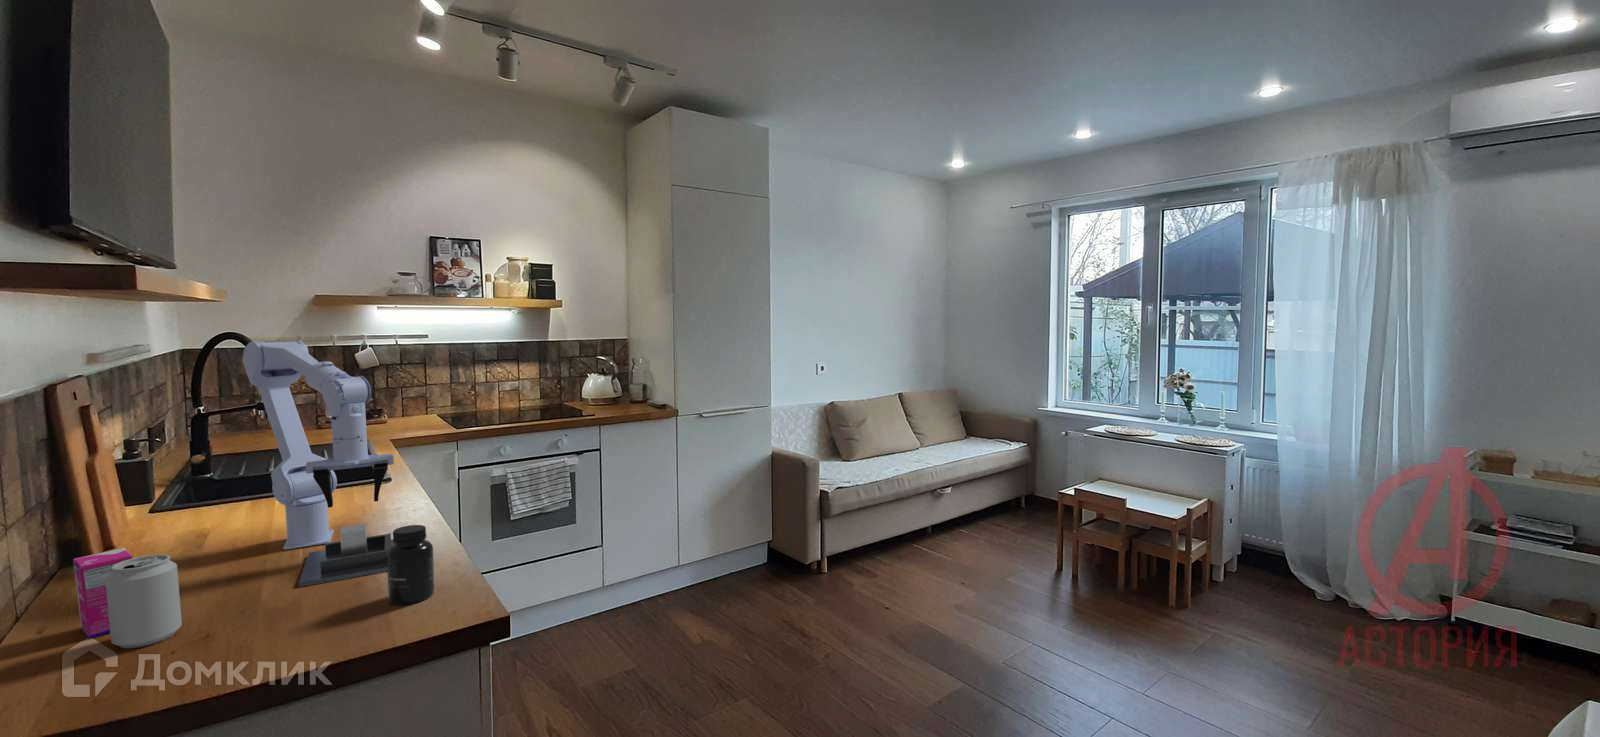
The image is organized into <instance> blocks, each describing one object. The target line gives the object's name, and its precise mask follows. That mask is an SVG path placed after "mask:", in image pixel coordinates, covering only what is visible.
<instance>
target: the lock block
mask: <svg viewBox="0 0 1600 737" xmlns="http://www.w3.org/2000/svg"><path fill="white" fill-rule="evenodd" d="M367 535H368V534H367V523H360V524H353V525H347V526H341V528H340V534H339V536H340V537H339V538H340V541H341V556H342V557H345V556H351V555H357V554H363V553H368V550H367V537H368V536H367Z"/></svg>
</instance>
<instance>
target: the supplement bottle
mask: <svg viewBox="0 0 1600 737" xmlns="http://www.w3.org/2000/svg"><path fill="white" fill-rule="evenodd" d="M426 528H427V527H426V525H423V524H422V525H421V524H410V525H409V524H408V525H404V526H401V527H397V528H395V529H394V530H393V532H392V540H393V543H395V544H394V545H393V546H391V547H390V548H389V550H388V552H387V572H386V573H387V593H388V602H390V603H391V604H393V605H397V606H398V605H399V606H400V605H401V606H404V605H411V604H416V603H420V602H423V601H426V600H428V599H429V598H430V597H432V596H433V594H434V593H435V571H434V570H435V568H434V565H435V564H434V546H433V544H432V543H431V542H430V541H429V540H426V539H427V531H426V530H427V529H426Z"/></svg>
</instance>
